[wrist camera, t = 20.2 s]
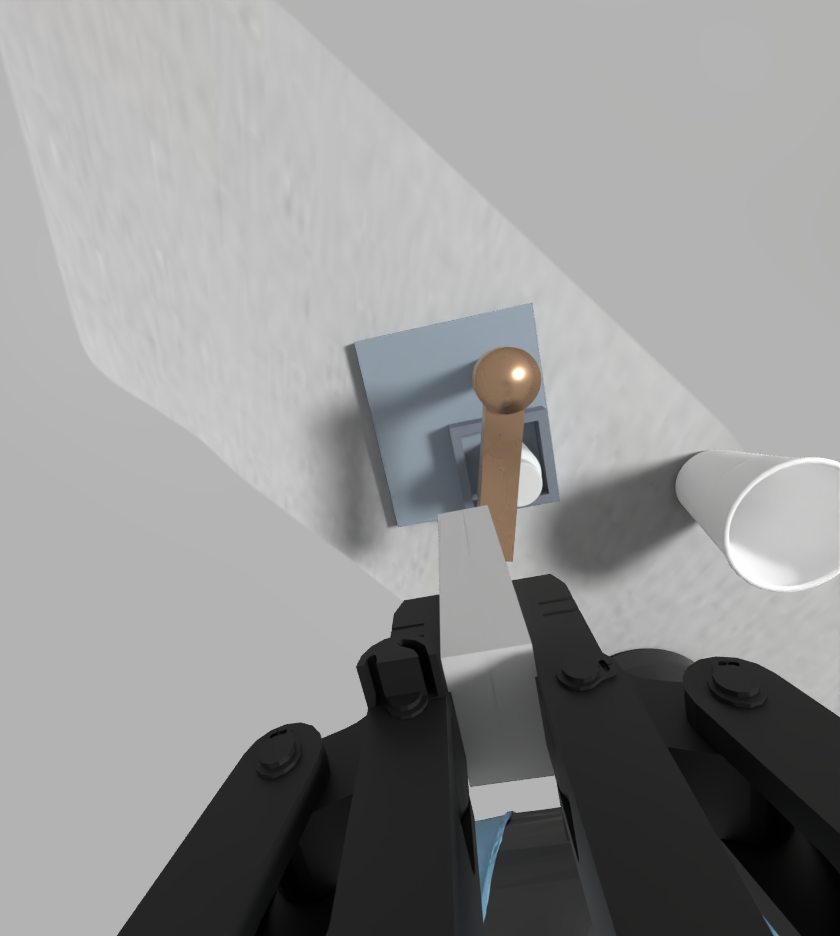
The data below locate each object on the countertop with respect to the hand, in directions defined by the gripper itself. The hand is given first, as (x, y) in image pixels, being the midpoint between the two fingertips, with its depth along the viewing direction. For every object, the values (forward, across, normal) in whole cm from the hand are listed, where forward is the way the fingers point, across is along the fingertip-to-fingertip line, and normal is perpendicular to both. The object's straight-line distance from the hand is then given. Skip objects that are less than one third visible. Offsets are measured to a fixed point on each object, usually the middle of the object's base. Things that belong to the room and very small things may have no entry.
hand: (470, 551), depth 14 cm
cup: (+29, +22, -11) cm, 38 cm away
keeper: (+18, +3, -2) cm, 18 cm away
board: (+28, +1, -1) cm, 28 cm away
